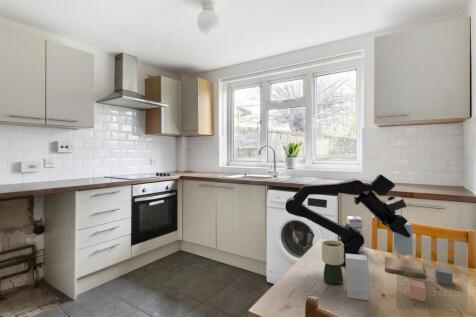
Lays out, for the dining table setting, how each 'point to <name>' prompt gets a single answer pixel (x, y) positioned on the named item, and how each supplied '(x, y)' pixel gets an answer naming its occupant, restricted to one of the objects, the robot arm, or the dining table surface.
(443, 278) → the charcoal block
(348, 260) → the skincare box
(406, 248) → the slate block
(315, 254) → the dining table surface
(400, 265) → the walnut board
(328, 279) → the character mug
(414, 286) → the terracotta block
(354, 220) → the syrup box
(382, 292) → the dining table surface
